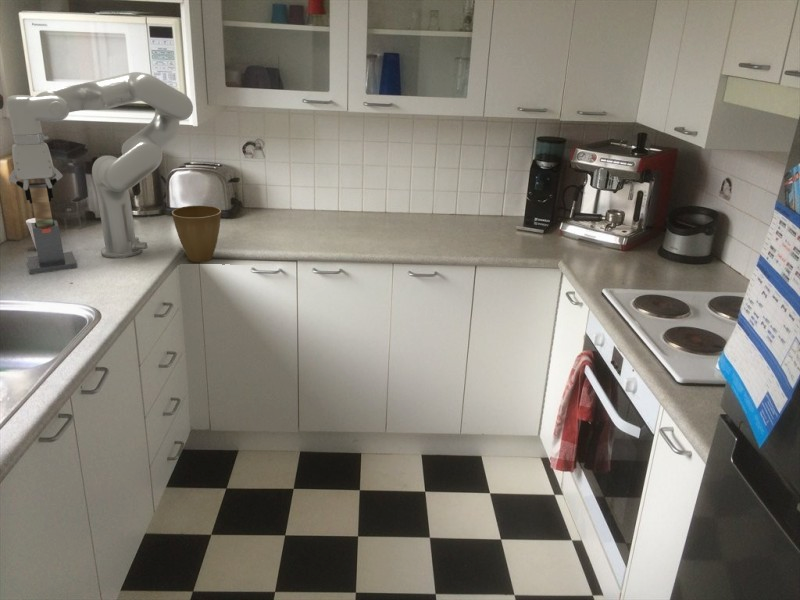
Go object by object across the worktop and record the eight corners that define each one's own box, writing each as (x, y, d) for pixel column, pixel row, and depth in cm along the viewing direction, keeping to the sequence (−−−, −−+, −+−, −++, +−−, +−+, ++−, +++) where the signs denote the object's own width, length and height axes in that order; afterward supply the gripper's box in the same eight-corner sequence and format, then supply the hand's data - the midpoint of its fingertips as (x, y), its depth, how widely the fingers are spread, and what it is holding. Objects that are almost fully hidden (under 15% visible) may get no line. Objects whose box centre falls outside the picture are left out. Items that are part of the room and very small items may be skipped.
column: (55, 240, 205) (45, 181, 198) (57, 244, 202) (46, 184, 195) (39, 242, 203) (28, 183, 196) (40, 245, 200) (29, 186, 193)
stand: (73, 255, 213) (66, 216, 208) (77, 267, 203) (70, 227, 198) (27, 261, 207) (19, 221, 202) (30, 274, 197) (21, 232, 192)
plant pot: (171, 265, 207) (165, 216, 200) (185, 251, 220) (180, 204, 214) (218, 266, 207) (214, 217, 201) (229, 252, 221) (225, 205, 214)
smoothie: (43, 251, 217) (35, 210, 211) (26, 250, 218) (18, 208, 212) (56, 246, 222) (49, 205, 217) (40, 244, 224) (32, 204, 218)
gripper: (59, 136, 198) (70, 196, 205) (-5, 139, 190) (8, 201, 197) (62, 140, 192) (72, 201, 199) (-5, 143, 184) (8, 207, 191)
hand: (40, 200), depth 197 cm, fingers closed on column, 4 cm apart
